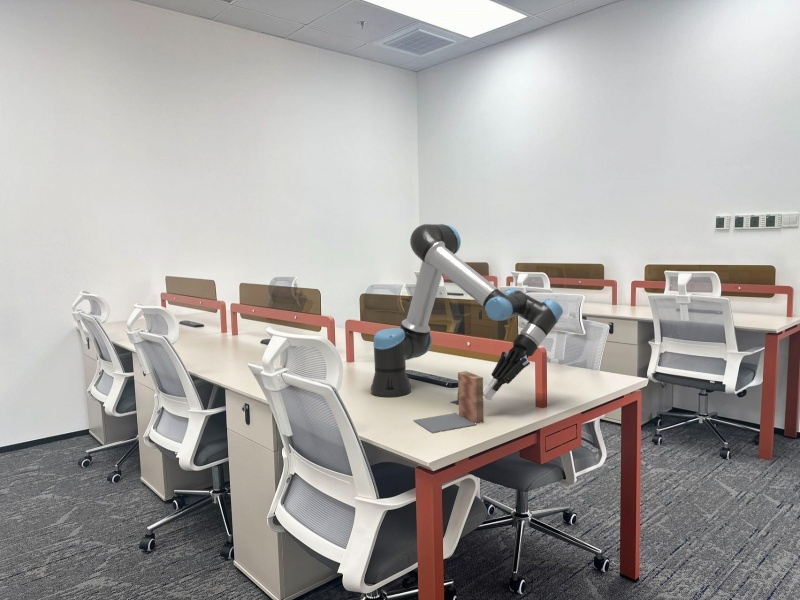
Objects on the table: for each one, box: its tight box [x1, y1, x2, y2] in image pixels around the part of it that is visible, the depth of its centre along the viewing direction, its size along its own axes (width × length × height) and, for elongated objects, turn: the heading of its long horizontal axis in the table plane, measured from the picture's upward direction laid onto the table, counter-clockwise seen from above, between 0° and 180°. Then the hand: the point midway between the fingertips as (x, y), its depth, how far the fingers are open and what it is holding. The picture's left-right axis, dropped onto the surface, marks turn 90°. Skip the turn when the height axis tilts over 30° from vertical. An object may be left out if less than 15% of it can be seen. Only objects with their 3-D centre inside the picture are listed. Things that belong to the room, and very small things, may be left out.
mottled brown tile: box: [457, 370, 485, 424], centre depth 174 cm, size 10×3×14 cm, turn 24°
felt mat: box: [412, 412, 477, 434], centre depth 171 cm, size 13×15×1 cm
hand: (486, 397), depth 177 cm, fingers closed
